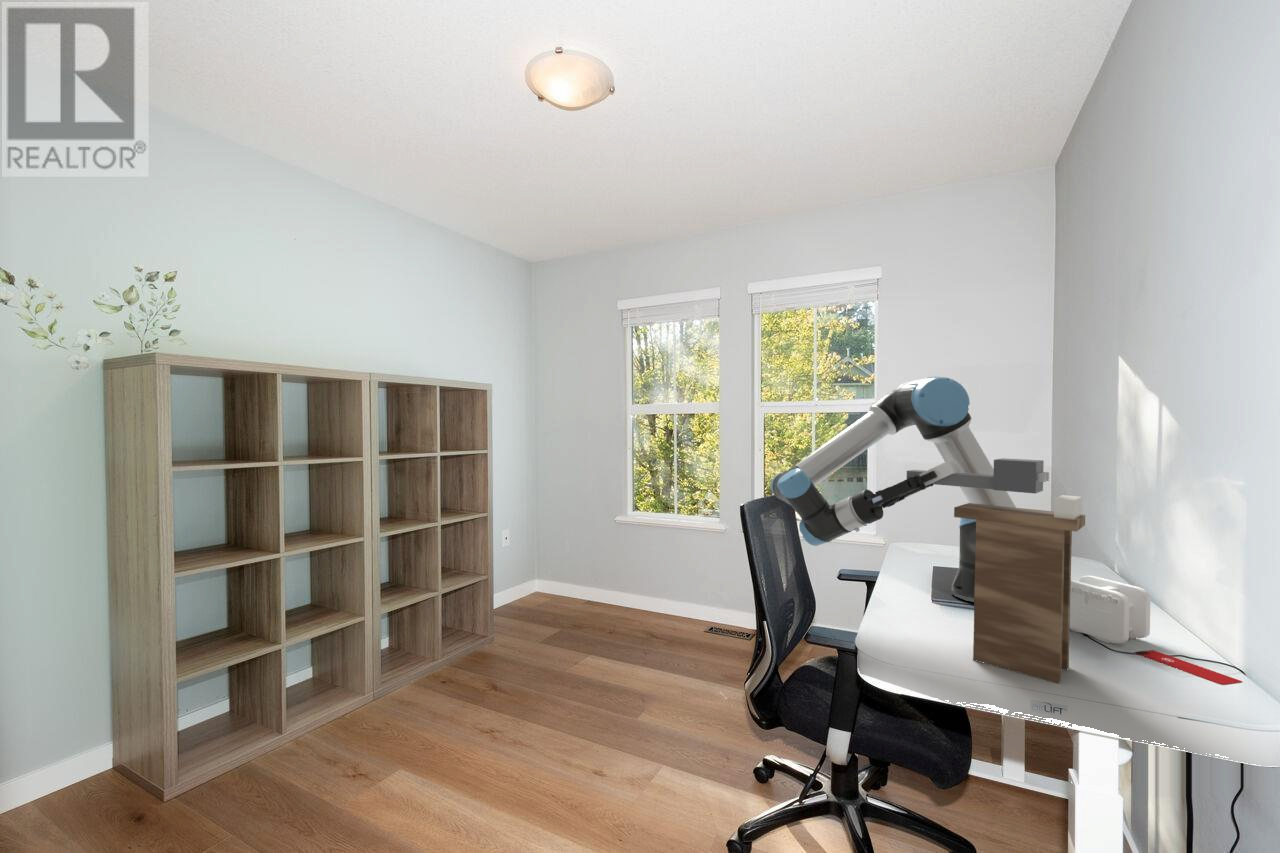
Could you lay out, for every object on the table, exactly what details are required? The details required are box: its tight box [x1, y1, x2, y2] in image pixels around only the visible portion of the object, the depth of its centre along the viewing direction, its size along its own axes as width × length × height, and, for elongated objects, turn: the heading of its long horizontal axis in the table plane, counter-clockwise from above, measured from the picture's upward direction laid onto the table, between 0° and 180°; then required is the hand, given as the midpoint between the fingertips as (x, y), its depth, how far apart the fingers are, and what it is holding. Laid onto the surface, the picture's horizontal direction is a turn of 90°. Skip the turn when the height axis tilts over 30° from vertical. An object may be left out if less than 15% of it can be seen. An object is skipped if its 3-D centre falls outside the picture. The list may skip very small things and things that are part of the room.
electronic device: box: [1133, 649, 1243, 686], centre depth 112 cm, size 6×1×15 cm
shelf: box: [953, 502, 1086, 684], centre depth 113 cm, size 10×20×30 cm, turn 45°
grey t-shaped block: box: [906, 458, 1050, 494], centre depth 118 cm, size 7×25×6 cm, turn 45°
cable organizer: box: [1070, 575, 1152, 644], centre depth 129 cm, size 15×11×12 cm
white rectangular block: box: [1053, 494, 1083, 519], centre depth 107 cm, size 8×3×4 cm, turn 135°
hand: (954, 466), depth 121 cm, fingers closed on grey t-shaped block, 4 cm apart
